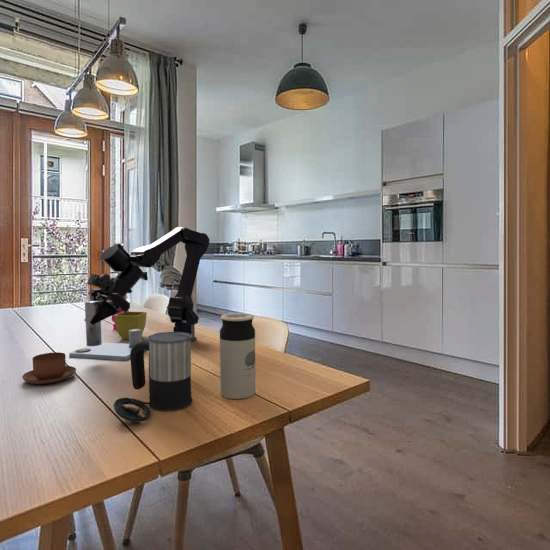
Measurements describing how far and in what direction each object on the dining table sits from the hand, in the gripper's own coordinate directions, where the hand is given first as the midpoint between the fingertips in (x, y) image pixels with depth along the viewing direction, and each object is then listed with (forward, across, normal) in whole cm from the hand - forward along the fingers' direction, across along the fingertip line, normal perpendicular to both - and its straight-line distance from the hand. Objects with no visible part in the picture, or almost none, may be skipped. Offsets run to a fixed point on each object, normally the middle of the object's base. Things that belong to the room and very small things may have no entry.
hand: (88, 322), depth 118 cm
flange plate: (+2, -7, +14) cm, 16 cm away
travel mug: (-3, +49, +20) cm, 53 cm away
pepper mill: (-10, -41, +27) cm, 50 cm away
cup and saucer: (+17, +8, 0) cm, 19 cm away
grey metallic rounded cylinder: (+4, 0, +6) cm, 7 cm away
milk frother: (+10, +44, +7) cm, 46 cm away
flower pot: (-7, -23, +24) cm, 34 cm away
